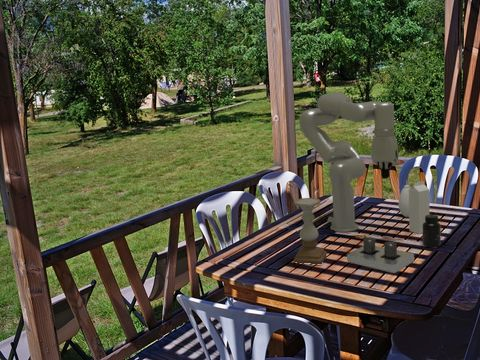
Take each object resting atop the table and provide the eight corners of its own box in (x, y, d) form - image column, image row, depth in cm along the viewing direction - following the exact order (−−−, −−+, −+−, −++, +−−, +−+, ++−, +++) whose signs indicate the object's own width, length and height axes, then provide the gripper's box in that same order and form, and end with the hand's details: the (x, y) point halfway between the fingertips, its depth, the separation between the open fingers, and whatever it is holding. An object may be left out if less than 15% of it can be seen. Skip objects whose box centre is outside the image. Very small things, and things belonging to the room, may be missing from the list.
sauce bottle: (398, 218, 248) (397, 181, 244) (399, 214, 255) (398, 178, 251) (415, 219, 245) (415, 181, 241) (416, 214, 252) (416, 178, 248)
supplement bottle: (442, 247, 206) (441, 218, 204) (423, 247, 208) (423, 218, 206) (439, 241, 213) (439, 213, 211) (421, 242, 215) (421, 213, 212)
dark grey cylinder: (382, 264, 194) (381, 244, 193) (388, 261, 197) (388, 240, 196) (393, 267, 191) (392, 246, 190) (399, 263, 194) (398, 243, 193)
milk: (409, 231, 229) (408, 182, 225) (419, 228, 232) (418, 179, 227) (419, 234, 224) (418, 184, 219) (430, 231, 226) (429, 181, 222)
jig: (347, 261, 200) (346, 241, 198) (367, 251, 209) (366, 232, 208) (394, 273, 186) (393, 252, 184) (413, 261, 195) (413, 240, 193)
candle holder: (321, 265, 198) (318, 204, 193) (293, 264, 202) (289, 204, 197) (327, 255, 208) (324, 197, 203) (300, 254, 212) (296, 197, 207)
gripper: (363, 134, 213) (364, 178, 217) (396, 135, 202) (397, 181, 206) (373, 131, 218) (374, 174, 222) (406, 132, 207) (407, 177, 211)
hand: (385, 177), depth 214 cm, fingers closed
